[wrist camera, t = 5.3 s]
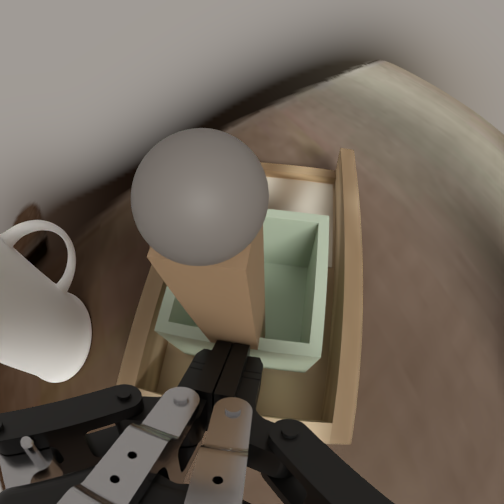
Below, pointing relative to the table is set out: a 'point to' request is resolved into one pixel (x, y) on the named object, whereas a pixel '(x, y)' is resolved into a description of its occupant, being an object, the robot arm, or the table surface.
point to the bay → (335, 324)
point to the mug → (40, 312)
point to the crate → (230, 252)
